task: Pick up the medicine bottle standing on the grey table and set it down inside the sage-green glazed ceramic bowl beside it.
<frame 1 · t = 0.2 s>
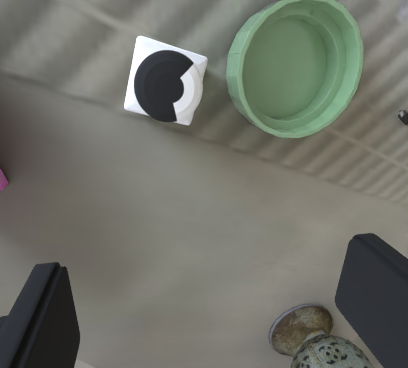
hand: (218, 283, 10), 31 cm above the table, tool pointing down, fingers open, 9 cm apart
lantern: (301, 328, 59), on the table
medicine bottle: (162, 79, 36), on the table
bowl: (281, 70, 38), on the table
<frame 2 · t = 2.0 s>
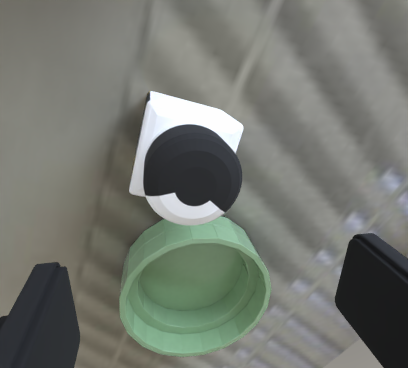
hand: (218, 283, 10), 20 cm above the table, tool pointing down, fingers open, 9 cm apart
medicine bottle: (177, 137, 28), on the table
bowl: (191, 267, 34), on the table
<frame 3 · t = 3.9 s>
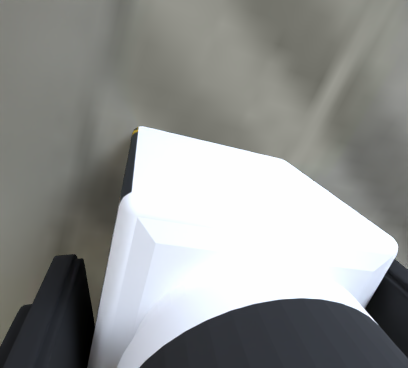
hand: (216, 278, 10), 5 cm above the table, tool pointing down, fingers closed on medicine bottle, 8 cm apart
medicine bottle: (194, 210, 14), on the table, touching gripper
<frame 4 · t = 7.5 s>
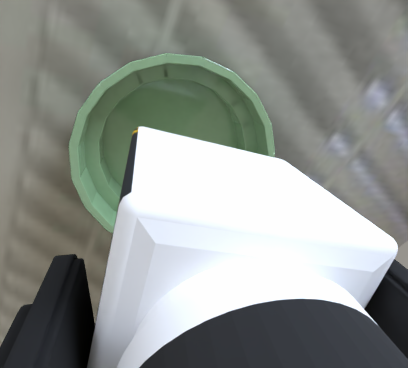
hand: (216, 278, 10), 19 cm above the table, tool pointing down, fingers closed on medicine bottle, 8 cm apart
medicine bottle: (194, 210, 14), point 14 cm above the table, touching gripper
bowl: (172, 145, 27), on the table
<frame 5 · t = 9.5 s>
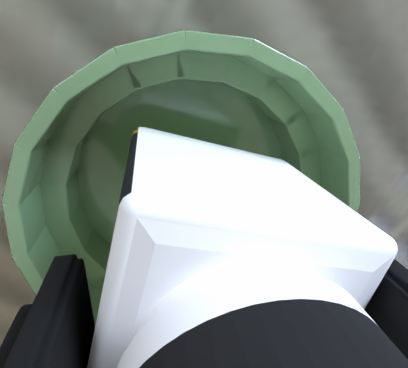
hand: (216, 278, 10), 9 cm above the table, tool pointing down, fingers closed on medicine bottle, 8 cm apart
medicine bottle: (194, 210, 14), point 4 cm above the table, touching gripper
bowl: (185, 181, 18), on the table
when the fingers open (5 cm above the table, at t = 11.1 s): medicine bottle stays where it is, resting on bowl.
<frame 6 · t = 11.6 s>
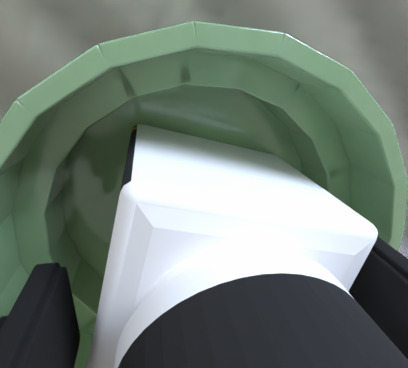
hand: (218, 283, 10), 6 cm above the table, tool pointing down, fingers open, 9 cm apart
medicine bottle: (191, 204, 15), resting on bowl
bowl: (189, 201, 15), on the table
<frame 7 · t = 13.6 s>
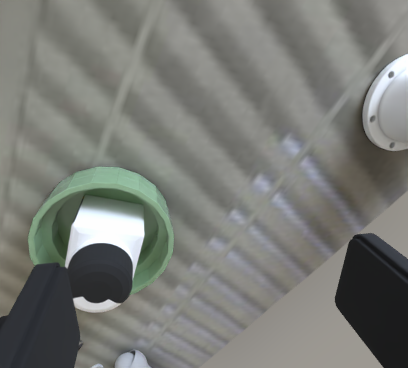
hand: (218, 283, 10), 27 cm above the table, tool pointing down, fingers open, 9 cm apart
medicine bottle: (109, 223, 37), resting on bowl
bowl: (109, 221, 37), on the table
clip-on lamp: (114, 363, 47), on the table
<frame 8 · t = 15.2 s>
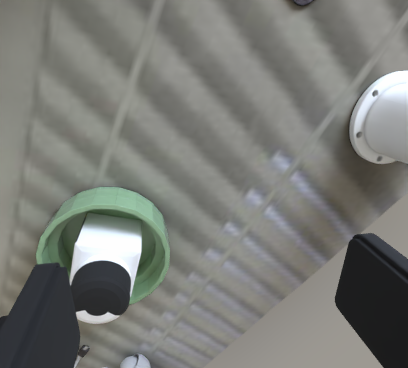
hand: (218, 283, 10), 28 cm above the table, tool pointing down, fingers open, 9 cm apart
medicine bottle: (111, 237, 39), resting on bowl
bowl: (111, 236, 40), on the table
clip-on lamp: (119, 366, 50), on the table
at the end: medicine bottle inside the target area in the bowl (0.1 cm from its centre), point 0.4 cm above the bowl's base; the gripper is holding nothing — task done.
